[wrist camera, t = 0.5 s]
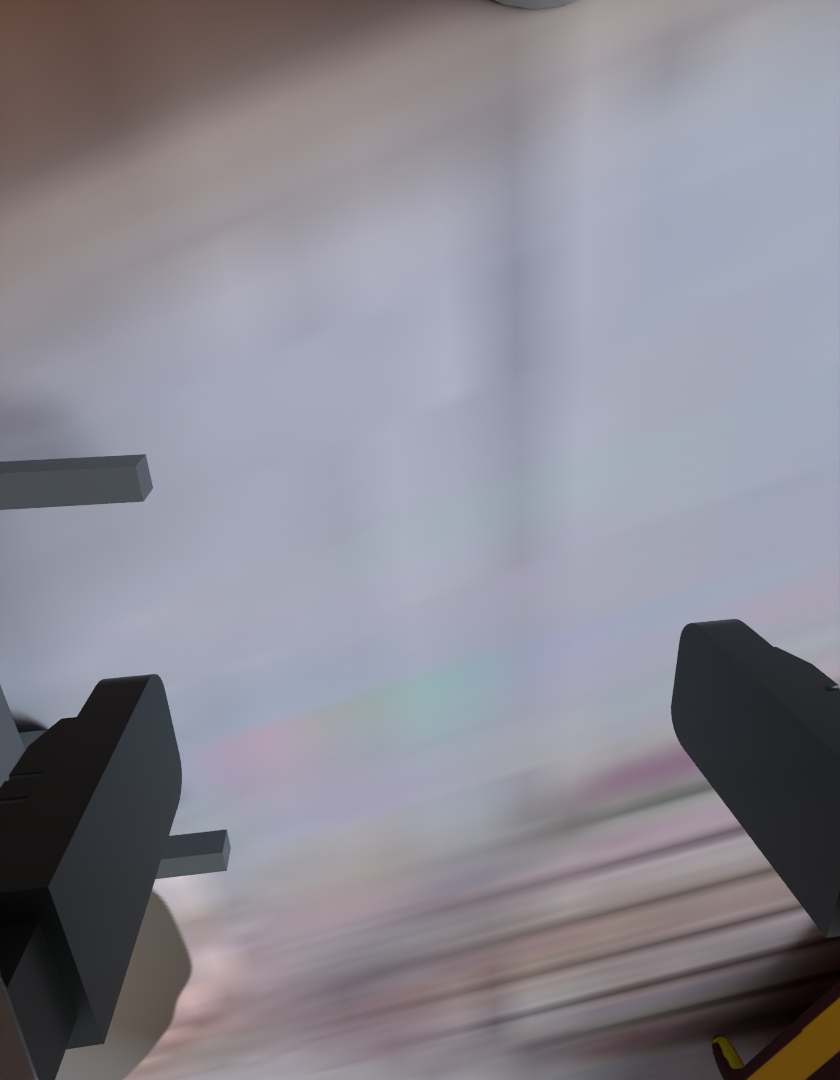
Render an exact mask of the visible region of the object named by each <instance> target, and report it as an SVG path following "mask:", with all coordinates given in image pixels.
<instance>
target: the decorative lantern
mask: <svg viewBox="0 0 840 1080" xmlns="http://www.w3.org/2000/svg"><path fill="white" fill-rule="evenodd" d="M712 1049H713V1054H714V1057H715V1060H716V1063H717V1066H718V1068H719V1070H720V1072H721V1075H722V1077H723V1079H724V1080H840V980H839V981H838V982H837V983H836V984H835V985H834V986H833V987H832V988H831V989H829V990H828V991H827V992H826V993H825V994H824V995H823V996H822V997H821V998H819V999H818V1000H817V1001H816V1002H815V1003H814V1004H813V1005H812V1006H811V1007H809V1008H808V1009H807V1010H806V1011H805V1012H804V1013H803V1014H802V1015H801V1016H800V1017H798V1018H797V1019H796V1020H795V1021H794V1022H793V1023H792V1024H791V1025H790V1026H788V1027H787V1028H786V1029H785V1030H784V1031H783V1032H782V1033H781V1034H780V1035H778V1036H777V1037H776V1038H775V1039H774V1040H773V1041H772V1042H771V1043H770V1044H768V1045H767V1046H766V1047H765V1048H764V1049H763V1050H762V1051H761V1052H760V1053H759V1054H757V1055H756V1056H755V1057H754V1058H753V1059H752V1060H751V1061H750V1062H749V1063H747V1064H746V1065H745V1066H744V1064H743V1063H742V1061H741V1059H740V1057H739V1055H738V1053H737V1051H736V1050H735V1048H734V1047H733V1046H732V1044H731V1043H730V1042H729V1041H728V1040H727V1039H726V1038H724V1037H722V1036H718V1037H716V1038H715V1039H714V1040H713V1043H712Z"/></svg>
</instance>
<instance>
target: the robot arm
mask: <svg viewBox="0 0 840 1080" xmlns="http://www.w3.org/2000/svg"><path fill="white" fill-rule="evenodd" d="M495 1H497V2H499V3H502V4H504V5H509V6H516V7H522V8H528V9H542V8H550V7H559V6H565V5H567V4H570V3H572V2H575V1H577V0H495ZM671 715H672V722H673V726H674V730H675V733H676V736H677V738H678V740H679V742H680V744H681V745H682V747H683V748H684V750H685V751H686V752H687V754H688V755H689V756H690V758H691V759H692V760H693V762H694V763H695V764H696V766H697V767H698V768H699V770H700V771H701V772H702V774H703V775H704V776H705V778H706V779H707V780H708V782H709V783H710V784H711V786H712V787H713V788H714V790H715V791H716V792H717V794H718V795H719V796H720V798H721V799H722V800H723V802H724V803H725V804H726V806H727V807H728V808H729V810H730V811H731V812H732V814H733V815H734V816H735V817H736V819H737V820H738V821H739V823H740V824H741V825H742V827H743V828H744V829H745V831H746V832H747V833H748V835H749V836H750V837H751V839H752V840H753V841H754V843H755V844H756V845H757V847H758V848H759V849H760V851H761V852H762V853H763V855H764V856H765V857H766V859H767V860H768V861H769V863H770V864H771V865H772V867H773V868H774V869H775V871H776V872H777V873H778V875H779V876H780V877H781V879H782V880H783V881H784V883H785V884H786V885H787V887H788V888H789V889H790V891H791V892H792V893H793V895H794V896H795V897H796V899H797V900H798V901H799V903H800V904H801V905H802V907H803V908H804V909H805V910H806V912H807V913H808V914H809V916H810V917H811V918H812V920H813V921H814V922H815V924H816V925H817V926H818V928H819V929H820V930H821V932H822V933H823V934H824V936H825V937H826V938H829V937H836V936H840V689H839V685H838V684H836V683H835V682H834V681H833V680H831V679H830V678H829V677H828V676H826V675H825V674H824V673H823V672H821V671H820V670H819V669H817V668H816V667H815V666H814V665H812V664H811V663H809V662H807V661H805V660H802V659H800V658H798V657H796V656H794V655H792V654H790V653H788V652H786V651H784V650H781V649H779V648H777V647H773V646H772V645H770V644H769V643H768V642H767V641H766V640H764V639H763V638H762V637H761V636H759V635H758V634H757V633H756V632H755V631H753V630H752V629H751V628H750V627H748V626H747V625H746V624H745V623H743V622H742V621H740V620H738V619H730V620H719V621H709V622H699V623H690V624H688V625H686V626H685V627H684V629H683V630H682V633H681V637H680V643H679V650H678V658H677V666H676V673H675V681H674V688H673V696H672V704H671ZM181 784H182V770H181V760H180V755H179V751H178V746H177V742H176V737H175V733H174V728H173V724H172V720H171V715H170V711H169V706H168V702H167V697H166V693H165V689H164V685H163V682H162V680H161V678H160V677H159V676H158V675H157V674H152V675H142V676H131V677H121V678H111V679H103V680H101V681H100V682H98V684H97V685H96V687H95V688H94V690H93V691H92V693H91V695H90V696H89V698H88V700H87V701H86V703H85V705H84V706H83V708H82V709H81V711H80V713H79V714H78V716H77V717H74V718H64V719H61V720H59V721H58V722H57V723H56V724H54V725H53V726H52V727H51V728H50V729H48V730H47V731H46V732H45V733H43V734H42V735H41V736H40V737H38V738H37V739H36V740H35V741H34V742H32V743H31V744H30V745H29V746H28V747H27V749H26V750H25V752H24V753H23V755H22V756H21V758H20V759H19V761H18V762H17V764H16V765H15V767H14V768H13V770H12V771H11V772H10V774H9V780H8V781H4V783H3V784H2V786H1V787H0V1080H55V1078H56V1075H57V1072H58V1070H59V1067H60V1064H61V1061H62V1059H63V1056H64V1053H65V1050H66V1049H71V1048H78V1047H85V1046H91V1045H97V1044H104V1042H105V1039H106V1036H107V1032H108V1029H109V1026H110V1023H111V1020H112V1016H113V1013H114V1010H115V1007H116V1003H117V1000H118V997H119V994H120V991H121V987H122V984H123V981H124V978H125V975H126V971H127V968H128V965H129V962H130V958H131V955H132V952H133V949H134V946H135V942H136V939H137V936H138V933H139V929H140V926H141V923H142V920H143V917H144V913H145V910H146V907H147V904H148V901H149V897H150V894H151V891H152V888H153V884H154V881H155V878H156V875H157V872H158V868H159V865H160V862H161V859H162V856H163V852H164V849H165V846H166V843H167V839H168V836H169V833H170V830H171V827H172V823H173V820H174V817H175V814H176V810H177V807H178V804H179V800H180V794H181Z"/></svg>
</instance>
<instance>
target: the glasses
mask: <svg viewBox="0 0 840 1080" xmlns="http://www.w3.org/2000/svg"><path fill="white" fill-rule="evenodd" d="M152 489H153V486H152V482H151V477H150V472H149V468H148V463H147V458H146V454H145V455H125V456H106V457H87V458H67V459H48V460H28V461H9V462H0V510H6V509H23V508H40V507H57V506H74V505H91V504H108V503H125V502H142V501H144V500H145V499H146V497H147V496H148V494H149V493H150V491H151V490H152ZM45 732H46V730H42V731H31V732H20V733H18V730H17V727H16V725H15V722H14V720H13V717H12V714H11V712H10V709H9V707H8V704H7V702H6V699H5V696H4V694H3V691H2V689H1V686H0V787H1V786H2V784H3V783H4V781H8V780H9V774H10V772H11V771H12V770H13V768H14V767H15V765H16V764H17V762H18V761H19V759H20V758H21V756H22V755H23V753H24V752H25V750H26V749H27V747H28V746H29V745H30V744H31V743H32V742H34V741H35V740H36V739H37V738H38V737H40V736H41V735H42V734H43V733H45ZM230 848H231V847H230V843H229V838H228V834H227V830H219V831H210V832H201V833H192V834H183V835H174V836H168V839H167V843H166V846H165V849H164V852H163V856H162V859H161V862H160V865H159V868H158V872H157V875H156V878H155V879H160V878H169V877H177V876H186V875H194V874H202V873H211V872H219V871H227V866H228V860H229V854H230Z"/></svg>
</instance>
